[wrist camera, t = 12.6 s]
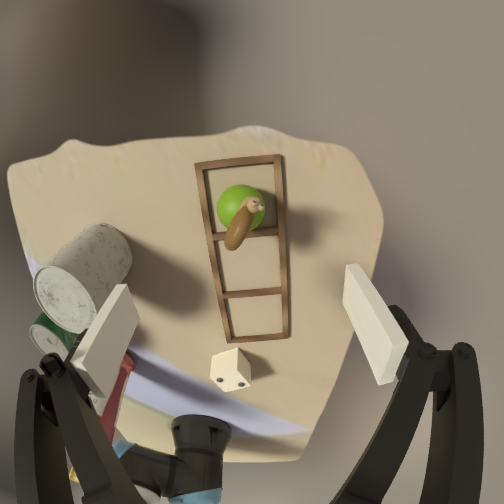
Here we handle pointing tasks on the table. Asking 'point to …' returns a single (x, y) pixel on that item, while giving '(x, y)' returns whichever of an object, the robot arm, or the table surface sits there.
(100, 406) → the liquor
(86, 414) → the robot arm
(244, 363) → the die
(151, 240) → the table surface
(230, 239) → the snail figurine
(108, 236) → the grey cylinder
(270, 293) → the wooden ladder frame
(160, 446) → the table surface
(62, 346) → the canned tomato
